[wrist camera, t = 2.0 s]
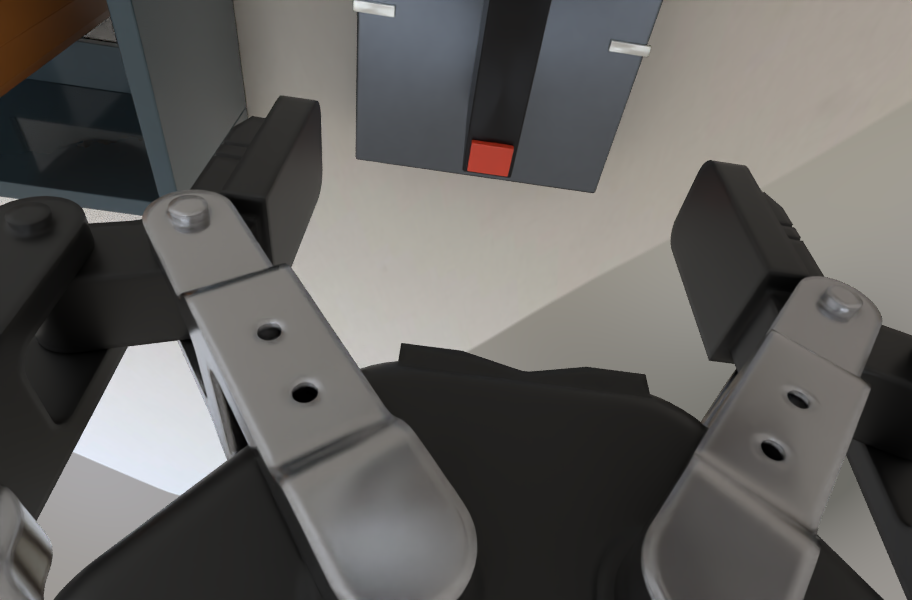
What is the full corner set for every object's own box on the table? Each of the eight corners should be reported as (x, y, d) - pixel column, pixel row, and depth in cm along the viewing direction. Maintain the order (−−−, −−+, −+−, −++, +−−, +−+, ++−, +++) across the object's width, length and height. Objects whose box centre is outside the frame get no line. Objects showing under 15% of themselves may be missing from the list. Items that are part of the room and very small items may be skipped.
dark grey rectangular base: (373, -240, 18) (354, -235, 15) (700, -181, 18) (729, -169, 16) (364, 123, 26) (351, 161, 24) (589, 157, 27) (597, 196, 24)
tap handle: (495, -78, 18) (494, -32, 14) (547, -69, 18) (558, -22, 15) (467, 107, 22) (461, 176, 19) (509, 113, 22) (511, 183, 19)
